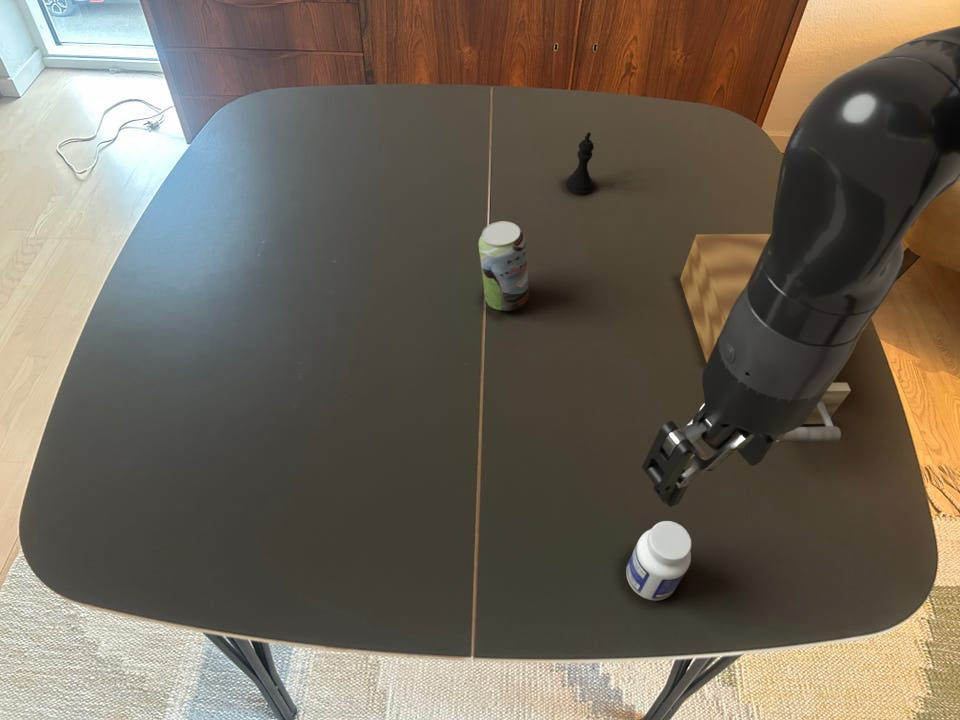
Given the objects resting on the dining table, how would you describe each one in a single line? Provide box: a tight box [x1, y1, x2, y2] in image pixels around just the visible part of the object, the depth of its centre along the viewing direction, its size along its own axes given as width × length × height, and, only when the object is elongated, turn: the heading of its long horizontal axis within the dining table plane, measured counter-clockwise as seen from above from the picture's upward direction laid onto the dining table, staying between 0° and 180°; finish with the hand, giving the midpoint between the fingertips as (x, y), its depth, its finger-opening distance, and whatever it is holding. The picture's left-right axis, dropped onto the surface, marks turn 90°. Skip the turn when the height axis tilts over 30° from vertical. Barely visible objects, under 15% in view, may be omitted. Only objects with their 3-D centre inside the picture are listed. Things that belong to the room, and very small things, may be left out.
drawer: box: [776, 382, 852, 443], centre depth 86 cm, size 20×11×7 cm, turn 3°
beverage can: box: [478, 220, 530, 312], centre depth 94 cm, size 6×7×12 cm
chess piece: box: [565, 131, 595, 196], centre depth 111 cm, size 4×4×10 cm
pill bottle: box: [625, 520, 692, 601], centre depth 71 cm, size 5×5×9 cm
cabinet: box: [679, 233, 772, 364], centre depth 95 cm, size 16×13×9 cm
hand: (707, 475), depth 59 cm, fingers open, 8 cm apart
